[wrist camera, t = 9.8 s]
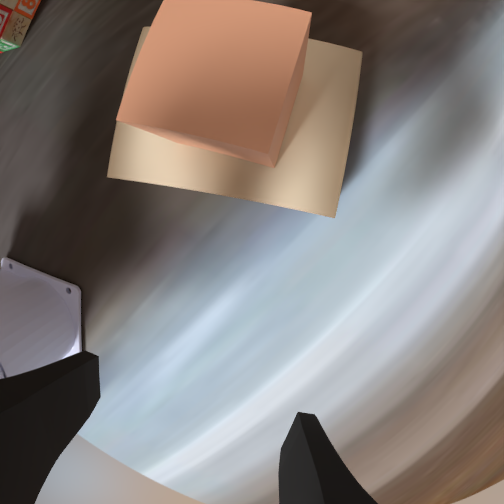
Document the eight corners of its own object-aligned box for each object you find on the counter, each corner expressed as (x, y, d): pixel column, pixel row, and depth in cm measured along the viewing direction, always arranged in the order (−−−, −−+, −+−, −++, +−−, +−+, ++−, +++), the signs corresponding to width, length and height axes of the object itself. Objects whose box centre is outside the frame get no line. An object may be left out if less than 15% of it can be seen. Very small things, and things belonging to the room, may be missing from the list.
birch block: (137, 177, 19) (106, 177, 15) (165, 51, 17) (143, 26, 13) (322, 211, 18) (334, 218, 15) (346, 75, 16) (362, 51, 13)
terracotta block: (176, 142, 14) (115, 120, 8) (206, 54, 13) (166, -6, 7) (274, 168, 14) (267, 154, 8) (302, 74, 13) (312, 12, 7)
